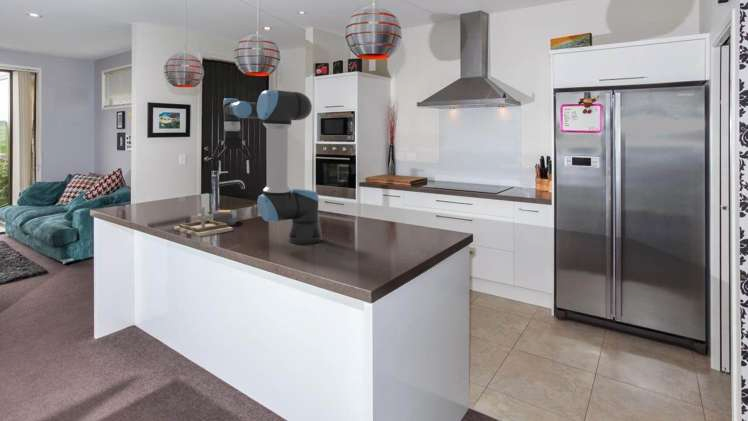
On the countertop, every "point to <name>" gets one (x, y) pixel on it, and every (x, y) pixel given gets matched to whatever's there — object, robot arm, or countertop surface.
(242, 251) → the countertop surface
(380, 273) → the countertop surface
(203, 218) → the pipe connector
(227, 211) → the button
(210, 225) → the pallet
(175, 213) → the countertop surface
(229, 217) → the button housing
